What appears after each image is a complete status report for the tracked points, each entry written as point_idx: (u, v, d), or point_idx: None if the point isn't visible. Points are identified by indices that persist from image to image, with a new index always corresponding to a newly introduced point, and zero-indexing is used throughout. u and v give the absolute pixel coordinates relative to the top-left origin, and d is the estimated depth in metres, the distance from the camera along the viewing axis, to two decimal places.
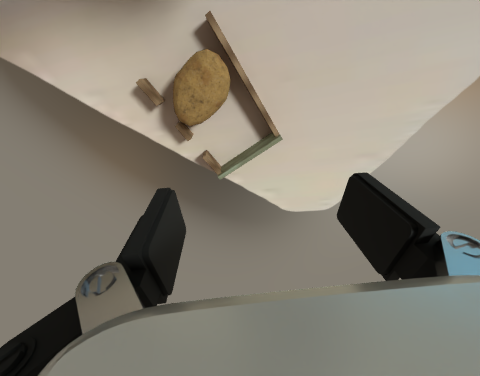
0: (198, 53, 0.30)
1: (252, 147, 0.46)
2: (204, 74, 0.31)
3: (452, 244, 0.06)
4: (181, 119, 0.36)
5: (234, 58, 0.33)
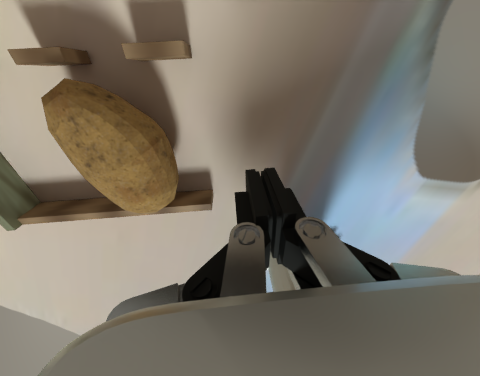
0: (171, 191, 0.20)
1: (2, 168, 0.22)
2: (134, 195, 0.18)
3: (305, 232, 0.06)
4: (57, 95, 0.14)
5: None
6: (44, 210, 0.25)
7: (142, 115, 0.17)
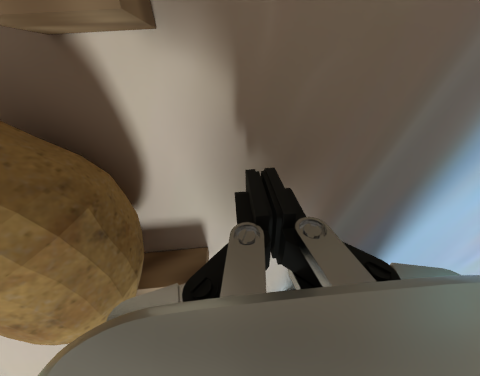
0: (123, 297, 0.10)
1: None
2: (31, 334, 0.08)
3: (305, 232, 0.06)
4: None
5: None
6: None
7: (35, 161, 0.07)
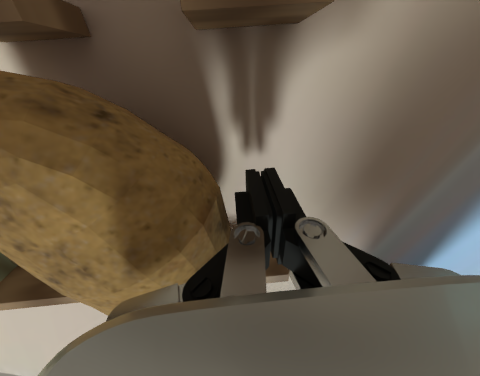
0: None
1: None
2: None
3: (305, 232, 0.06)
4: None
5: None
6: (21, 285, 0.15)
7: (178, 153, 0.07)
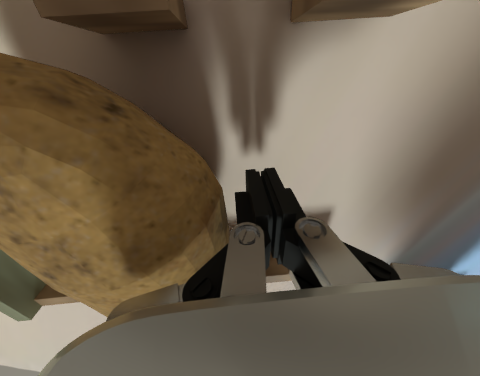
0: None
1: None
2: None
3: (305, 232, 0.06)
4: None
5: None
6: None
7: (185, 151, 0.07)
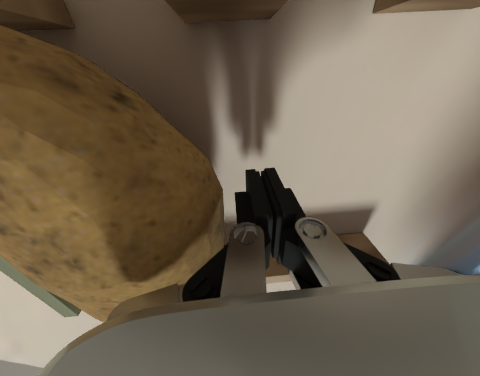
0: None
1: None
2: None
3: (305, 232, 0.06)
4: None
5: None
6: None
7: (190, 149, 0.07)
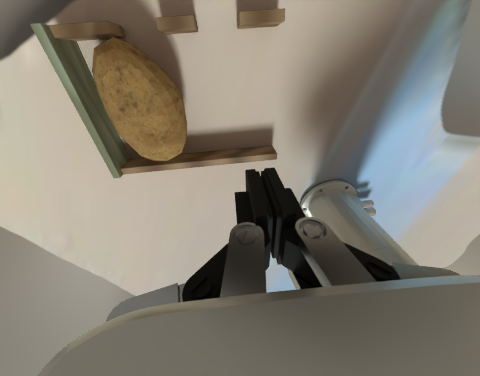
0: (181, 144, 0.24)
1: (110, 125, 0.27)
2: (154, 140, 0.22)
3: (305, 232, 0.06)
4: (109, 48, 0.18)
5: (231, 161, 0.29)
6: (138, 163, 0.30)
7: (168, 78, 0.22)
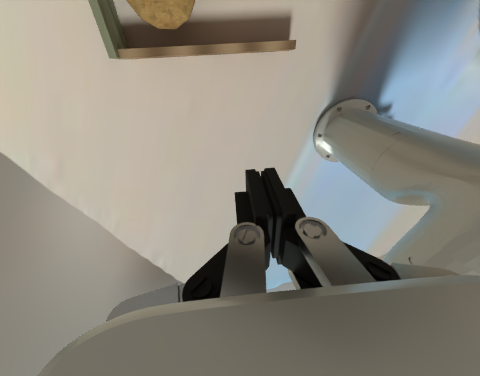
0: None
1: None
2: None
3: (305, 232, 0.06)
4: None
5: (244, 48, 0.26)
6: None
7: None
